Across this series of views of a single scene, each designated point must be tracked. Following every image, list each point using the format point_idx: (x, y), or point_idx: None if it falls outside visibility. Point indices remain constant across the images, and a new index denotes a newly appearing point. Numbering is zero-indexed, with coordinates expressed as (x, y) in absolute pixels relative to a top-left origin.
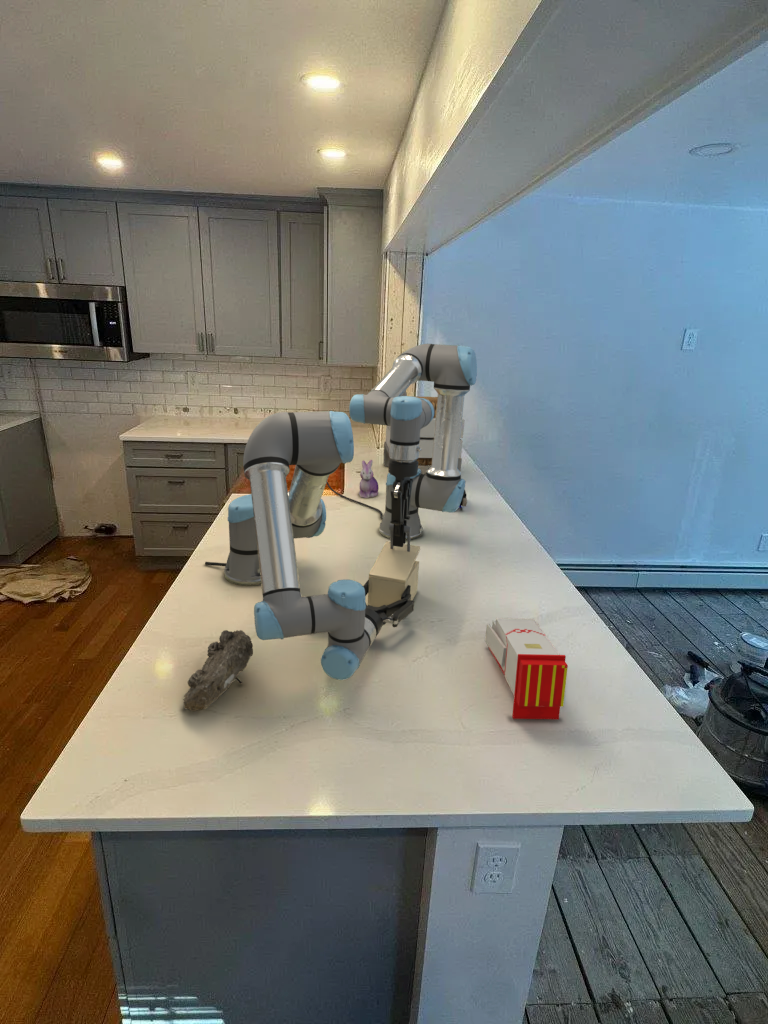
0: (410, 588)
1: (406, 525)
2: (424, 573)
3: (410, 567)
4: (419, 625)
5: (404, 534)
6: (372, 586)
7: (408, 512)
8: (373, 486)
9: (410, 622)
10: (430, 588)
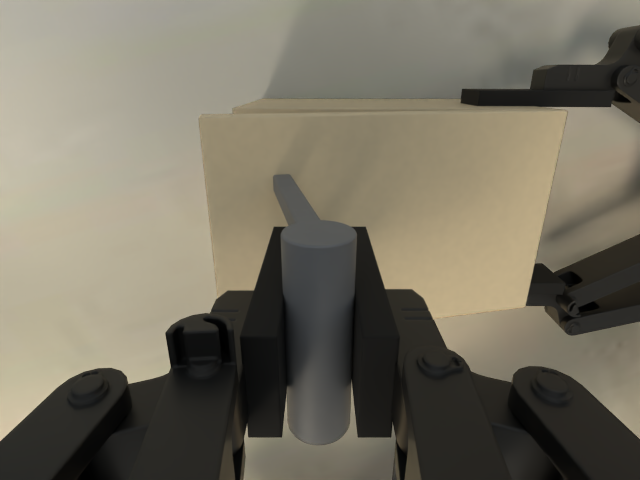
0: (401, 103)
1: (254, 300)
2: (78, 110)
3: (450, 116)
4: (528, 16)
5: None
6: None
7: (103, 398)
8: None
9: (512, 59)
10: (201, 48)
